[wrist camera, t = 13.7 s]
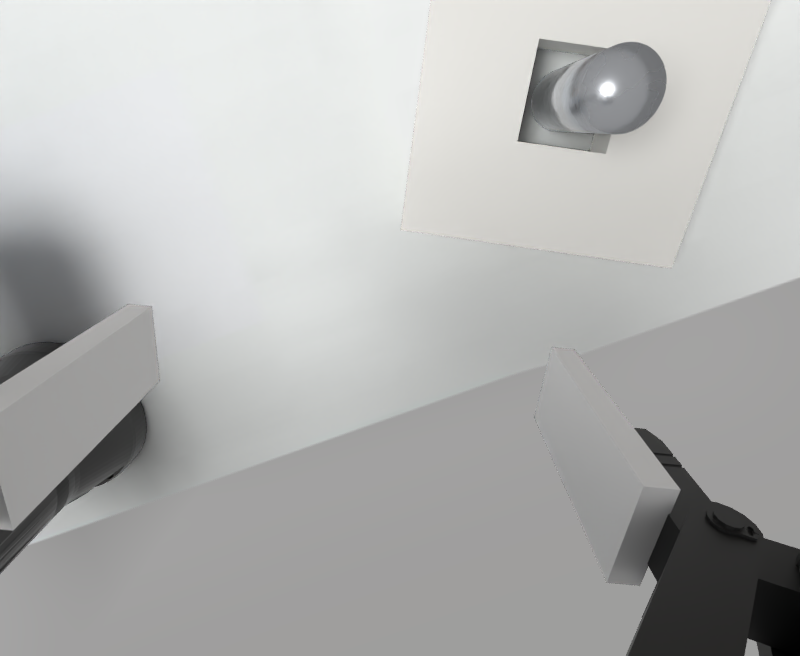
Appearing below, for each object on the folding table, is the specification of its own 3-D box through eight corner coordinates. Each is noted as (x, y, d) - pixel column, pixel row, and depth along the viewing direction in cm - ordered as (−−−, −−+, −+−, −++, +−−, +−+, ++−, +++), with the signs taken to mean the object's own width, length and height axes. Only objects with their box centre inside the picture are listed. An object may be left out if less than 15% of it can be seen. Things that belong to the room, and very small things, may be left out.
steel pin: (525, 127, 35) (570, 128, 24) (538, 65, 33) (594, 36, 22) (579, 134, 35) (649, 139, 24) (595, 73, 33) (679, 48, 22)
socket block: (402, 221, 38) (400, 230, 35) (444, -96, 30) (446, -123, 27) (651, 256, 38) (671, 268, 35) (758, -52, 30) (798, -73, 27)
